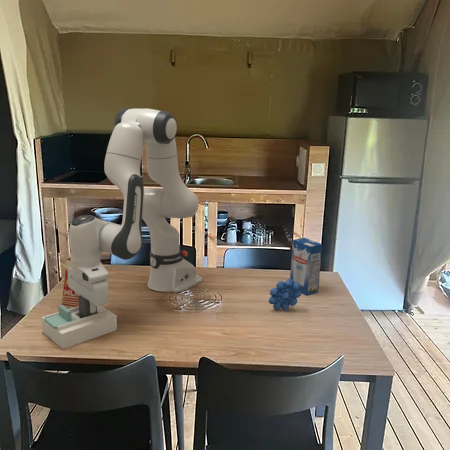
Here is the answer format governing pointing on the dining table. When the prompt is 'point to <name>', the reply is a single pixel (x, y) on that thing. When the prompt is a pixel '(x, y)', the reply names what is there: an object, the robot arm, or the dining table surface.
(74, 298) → the milk carton
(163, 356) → the dining table surface
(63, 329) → the socket
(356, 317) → the dining table surface
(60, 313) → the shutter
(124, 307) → the dining table surface
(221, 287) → the dining table surface
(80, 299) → the plug
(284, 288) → the grapes
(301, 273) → the milk carton
